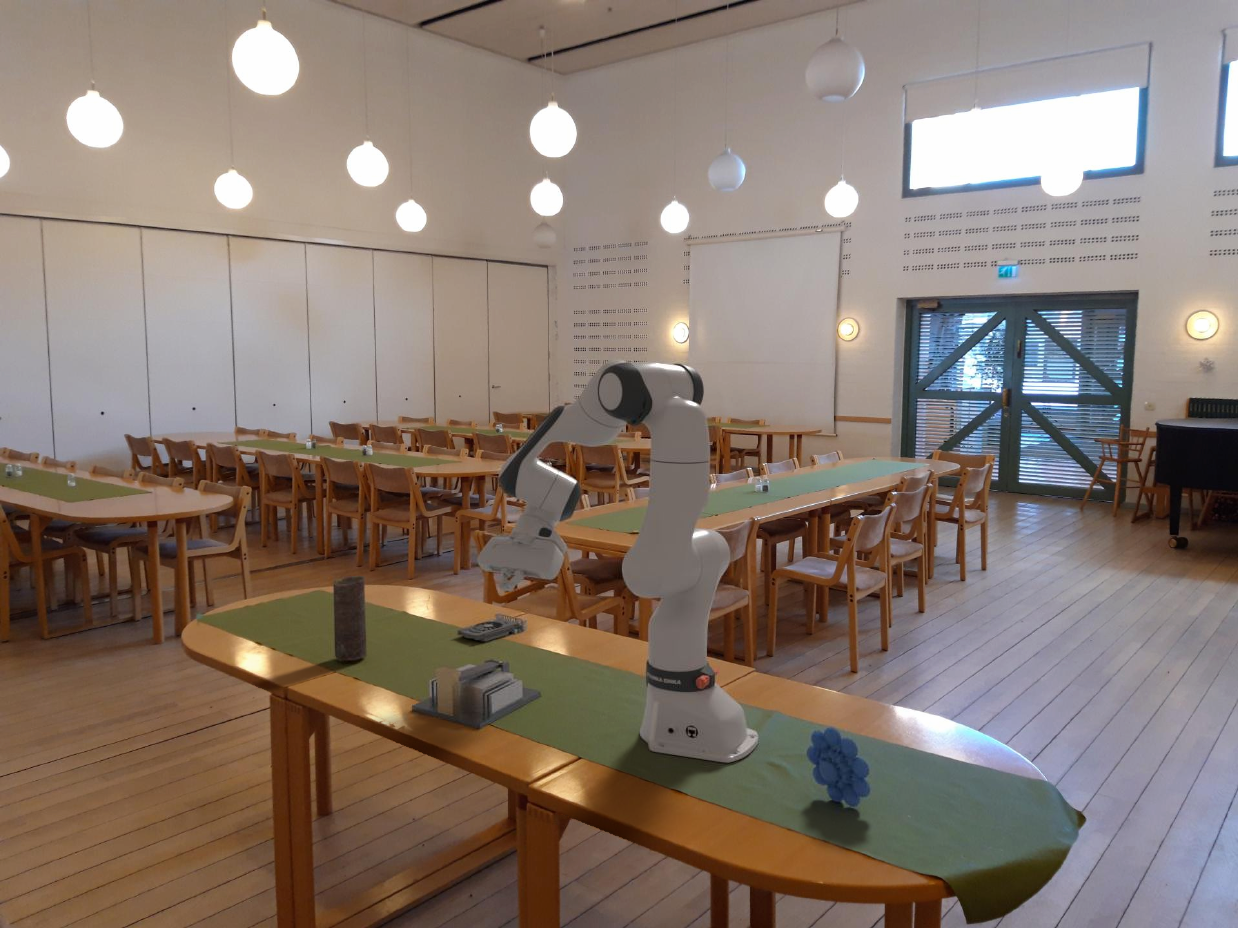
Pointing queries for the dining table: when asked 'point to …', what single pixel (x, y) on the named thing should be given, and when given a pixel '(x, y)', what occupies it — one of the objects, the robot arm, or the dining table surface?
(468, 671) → the retention strap
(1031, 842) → the dining table surface
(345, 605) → the candle
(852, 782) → the blue flower
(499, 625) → the graphics card
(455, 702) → the grey boxy piece
